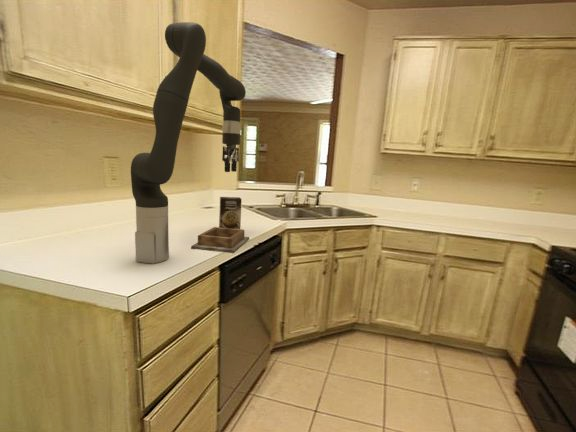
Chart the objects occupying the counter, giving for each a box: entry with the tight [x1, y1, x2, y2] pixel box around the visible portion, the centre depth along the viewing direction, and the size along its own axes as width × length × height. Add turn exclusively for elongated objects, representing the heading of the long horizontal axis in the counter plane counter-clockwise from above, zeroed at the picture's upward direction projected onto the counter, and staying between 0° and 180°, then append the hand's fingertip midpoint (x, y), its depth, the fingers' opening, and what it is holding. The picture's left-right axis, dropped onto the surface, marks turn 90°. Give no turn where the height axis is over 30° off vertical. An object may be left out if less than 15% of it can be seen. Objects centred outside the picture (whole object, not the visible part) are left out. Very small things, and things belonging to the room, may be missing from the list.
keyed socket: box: [190, 226, 250, 254], centre depth 119 cm, size 16×20×4 cm
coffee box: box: [218, 196, 242, 229], centre depth 135 cm, size 9×6×16 cm
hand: (230, 171), depth 132 cm, fingers open, 8 cm apart
